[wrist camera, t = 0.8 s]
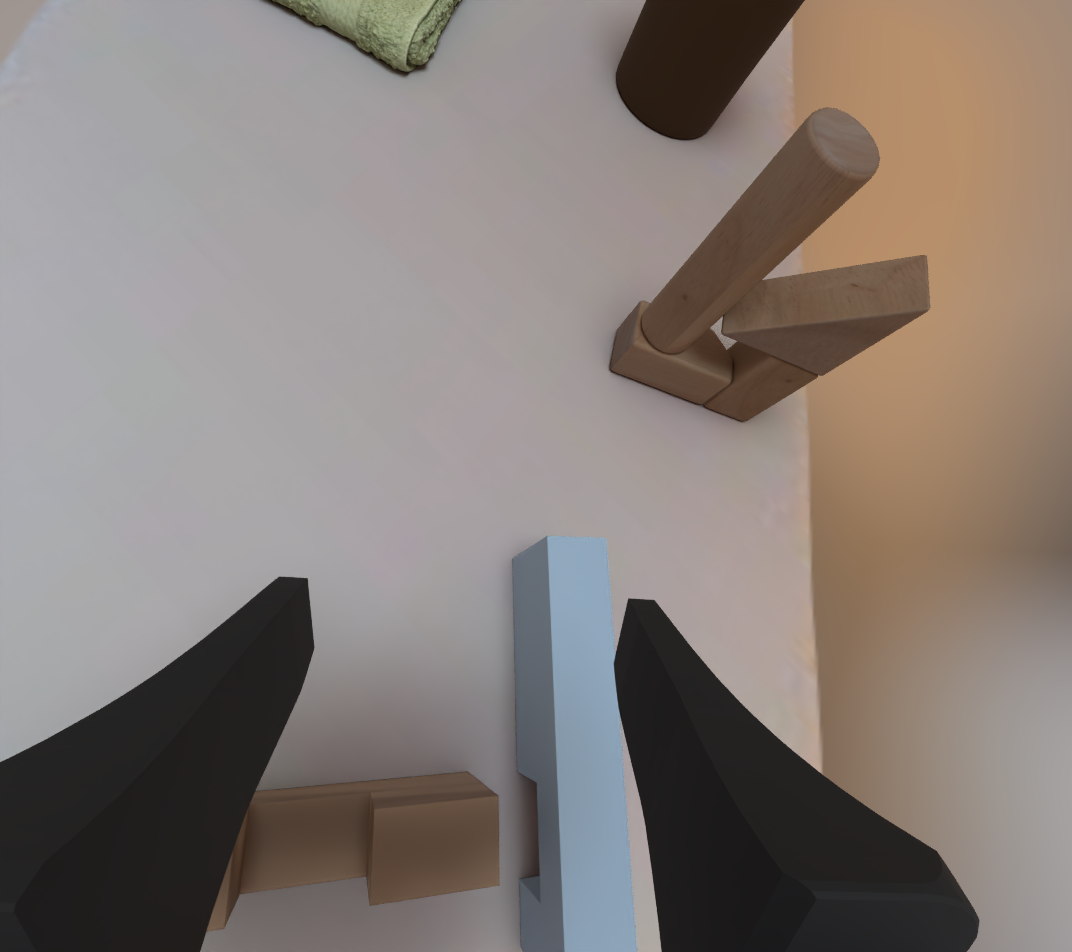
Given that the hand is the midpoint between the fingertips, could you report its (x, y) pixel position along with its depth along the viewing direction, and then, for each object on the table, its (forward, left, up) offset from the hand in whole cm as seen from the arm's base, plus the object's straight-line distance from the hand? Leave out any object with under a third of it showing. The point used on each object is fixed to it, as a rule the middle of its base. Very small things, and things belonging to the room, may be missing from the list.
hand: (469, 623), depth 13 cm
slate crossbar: (-4, -7, -17) cm, 19 cm away
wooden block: (+18, -18, -18) cm, 31 cm away
